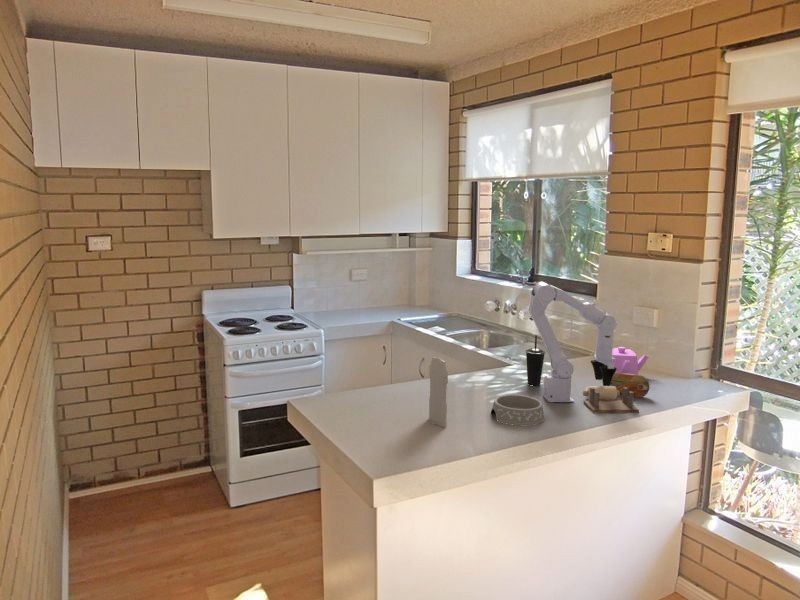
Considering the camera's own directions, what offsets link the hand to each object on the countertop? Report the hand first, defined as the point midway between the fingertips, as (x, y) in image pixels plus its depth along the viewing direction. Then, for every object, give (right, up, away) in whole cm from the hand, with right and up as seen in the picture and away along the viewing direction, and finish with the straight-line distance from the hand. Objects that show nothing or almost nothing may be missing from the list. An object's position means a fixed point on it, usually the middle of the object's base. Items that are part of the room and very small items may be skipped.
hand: (602, 382), depth 226 cm
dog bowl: (-34, -10, -16) cm, 39 cm away
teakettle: (+18, -2, +32) cm, 37 cm away
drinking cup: (-21, -4, +19) cm, 28 cm away
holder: (0, -8, -8) cm, 11 cm away
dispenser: (-62, -10, -24) cm, 67 cm away
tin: (+12, -6, +7) cm, 15 cm away
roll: (0, -7, +1) cm, 7 cm away
